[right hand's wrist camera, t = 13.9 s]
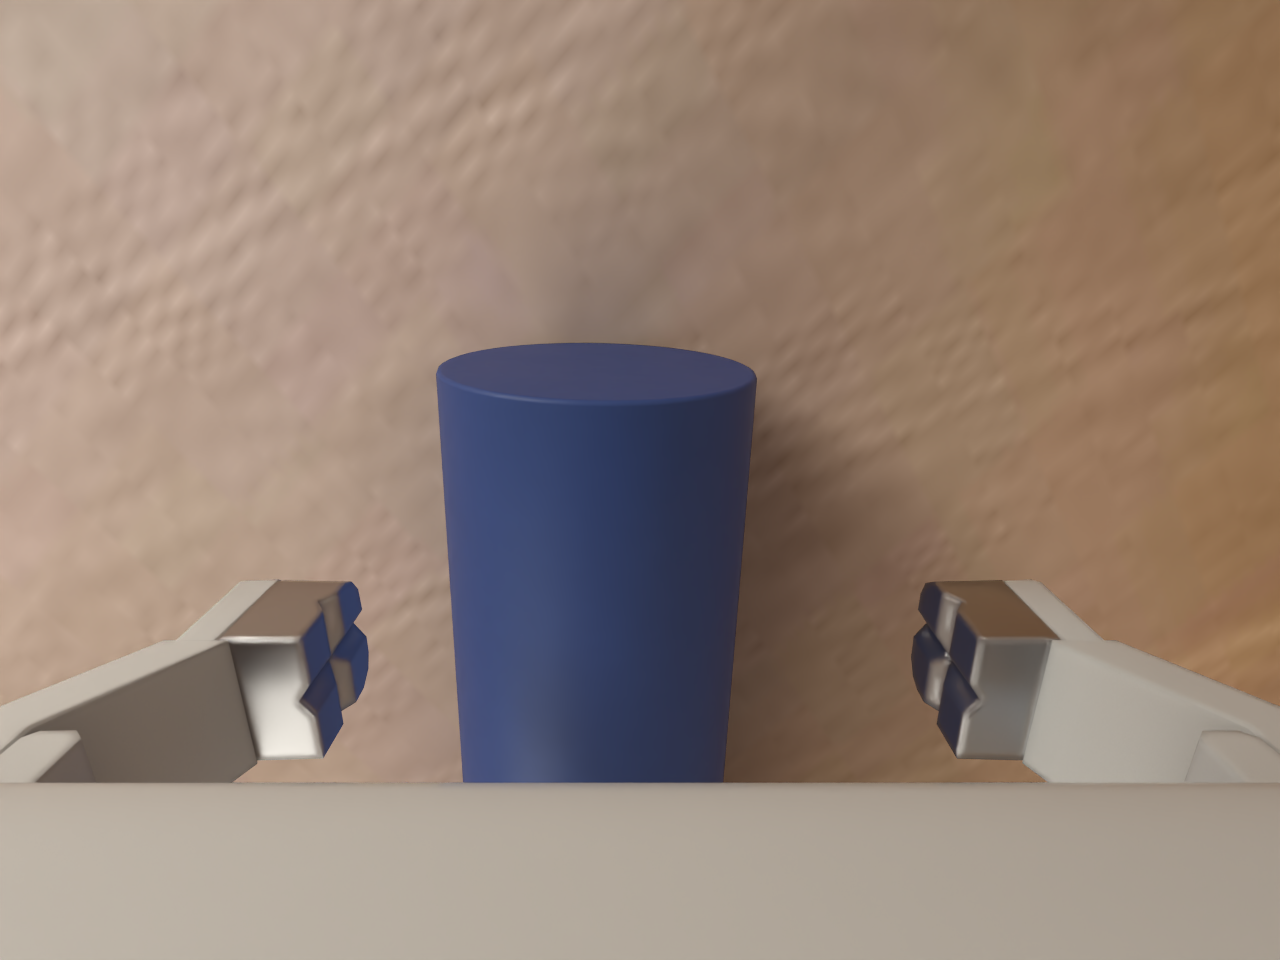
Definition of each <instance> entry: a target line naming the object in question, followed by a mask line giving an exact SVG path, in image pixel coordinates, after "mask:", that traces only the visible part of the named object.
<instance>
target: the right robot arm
mask: <svg viewBox="0 0 1280 960" xmlns="http://www.w3.org/2000/svg"><path fill="white" fill-rule="evenodd" d="M361 610H362V607H361V602H360V597H359V592H358V589H357V587H356V586H355V585H354V584H353V583H352V582H343V581H289V580H284V581H281V580H249V581H240V582H239V583H238V584H237V585H236V586H235V587H234V588H233V589H231V590H230V591H229V592H228V593H227V594H226V595H225V596H224V597H223V598H222V599H221V600H219V601H218V602H217V603H216V604H215V605H214V606H213V607H212V608H211V609H210V610H208V611H207V612H206V613H205V614H204V615H203V616H202V617H201V618H200V619H199V620H198V621H196V622H195V623H194V624H193V625H192V626H191V627H190V628H189V629H188V630H187V631H186V632H184V633H183V634H182V635H181V636H180V637H179V638H178V639H177V640H164V641H161V642H159V643H156V644H154V645H151V646H149V647H146V648H144V649H141V650H139V651H136V652H134V653H131V654H129V655H126V656H124V657H121V658H119V659H117V660H114V661H112V662H109V663H107V664H104V665H102V666H99V667H97V668H94V669H92V670H89V671H87V672H84V673H82V674H79V675H77V676H74V677H72V678H69V679H67V680H64V681H62V682H59V683H57V684H54V685H52V686H49V687H47V688H44V689H42V690H39V691H37V692H35V693H32V694H30V695H27V696H25V697H22V698H20V699H17V700H15V701H12V702H10V703H7V704H5V705H2V706H0V960H1280V706H1277V705H1275V704H1272V703H1270V702H1267V701H1265V700H1262V699H1260V698H1258V697H1255V696H1253V695H1250V694H1248V693H1245V692H1243V691H1240V690H1238V689H1235V688H1233V687H1230V686H1228V685H1225V684H1223V683H1220V682H1218V681H1215V680H1213V679H1210V678H1208V677H1205V676H1203V675H1201V674H1198V673H1196V672H1193V671H1191V670H1188V669H1186V668H1183V667H1181V666H1178V665H1176V664H1173V663H1171V662H1168V661H1166V660H1163V659H1161V658H1158V657H1156V656H1153V655H1151V654H1148V653H1146V652H1144V651H1141V650H1139V649H1136V648H1134V647H1131V646H1129V645H1126V644H1124V643H1121V642H1119V641H1116V640H1103V639H1102V638H1101V637H1100V636H1099V635H1098V634H1097V633H1096V632H1095V631H1093V630H1092V629H1091V628H1090V627H1089V626H1088V625H1087V624H1086V623H1085V622H1084V621H1083V620H1081V619H1080V618H1079V617H1078V616H1077V615H1076V614H1075V613H1074V612H1073V611H1072V610H1071V609H1069V608H1068V607H1067V606H1066V605H1065V604H1064V603H1063V602H1062V601H1061V600H1060V599H1059V598H1057V597H1056V596H1055V595H1054V594H1053V593H1052V592H1051V591H1050V590H1049V589H1048V588H1047V587H1045V586H1044V585H1043V584H1042V583H1041V582H1038V581H1035V580H1032V579H1030V580H1008V581H1002V580H990V581H948V582H930V583H925V586H924V588H923V590H922V592H921V595H920V601H919V607H918V610H919V612H920V613H921V615H922V616H923V618H924V620H925V621H926V624H925V625H924V626H923V627H922V628H921V629H920V630H919V632H918V633H917V634H916V635H915V636H914V638H913V646H912V654H911V660H912V671H913V678H914V681H915V684H916V687H917V690H918V692H919V694H920V696H921V697H922V699H923V701H924V702H925V703H927V704H928V705H930V706H931V707H933V708H935V709H936V710H938V711H939V713H938V719H937V725H938V727H939V729H940V730H941V732H942V734H943V735H944V737H945V739H946V741H947V742H948V744H949V746H950V747H951V749H952V751H953V752H954V754H955V756H956V757H957V759H994V760H1023V762H1022V763H1023V764H1024V765H1026V766H1027V767H1028V768H1030V769H1031V770H1032V771H1034V772H1035V773H1036V774H1038V775H1039V776H1040V777H1042V778H1043V779H1044V780H1046V781H1047V782H1048V783H232V782H233V781H234V780H236V779H237V778H238V777H240V776H241V775H243V774H244V773H245V772H247V771H248V770H249V769H251V768H252V767H253V766H255V765H256V764H257V760H284V759H320V758H324V756H325V754H326V753H327V751H328V749H329V747H330V746H331V744H332V742H333V741H334V739H335V737H336V735H337V734H338V732H339V730H340V729H341V727H342V725H343V719H342V713H341V711H342V710H344V709H345V708H347V707H349V706H350V705H352V704H353V703H355V702H356V701H357V699H358V697H359V695H360V694H361V692H362V690H363V688H364V684H365V680H366V676H367V672H368V645H367V638H366V636H365V635H364V634H363V633H362V632H361V630H360V629H359V628H358V627H357V626H356V625H355V624H354V621H355V620H356V618H357V616H358V615H359V613H360V612H361Z"/></svg>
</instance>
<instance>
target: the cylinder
mask: <svg viewBox="0 0 1280 960" xmlns="http://www.w3.org/2000/svg"><path fill="white" fill-rule="evenodd" d="M436 378H437V393H438V408H439V423H440V439H441V454H442V469H443V484H444V499H445V514H446V529H447V544H448V559H449V574H450V590H451V605H452V620H453V635H454V650H455V665H456V680H457V695H458V710H459V725H460V741H461V756H462V771H463V783H723V777H724V765H725V753H726V742H727V730H728V718H729V706H730V694H731V682H732V670H733V658H734V646H735V634H736V622H737V610H738V598H739V586H740V574H741V562H742V551H743V539H744V527H745V515H746V503H747V491H748V479H749V467H750V455H751V443H752V431H753V419H754V407H755V395H756V383H757V378H756V375H755V373H754V371H753V370H751V369H750V368H749V367H747V366H745V365H743V364H741V363H738V362H736V361H733V360H730V359H727V358H724V357H720V356H716V355H711V354H706V353H701V352H696V351H689V350H683V349H675V348H666V347H657V346H645V345H630V344H608V343H554V344H534V345H520V346H509V347H501V348H493V349H487V350H481V351H476V352H471V353H467V354H464V355H460V356H457V357H455V358H452V359H449V360H447V361H446V362H444V363H442V364H441V365H440V366H439V368H438V370H437V373H436Z"/></svg>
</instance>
